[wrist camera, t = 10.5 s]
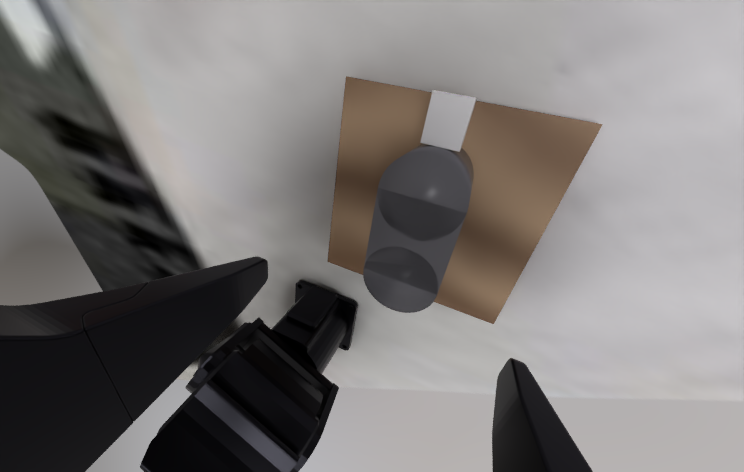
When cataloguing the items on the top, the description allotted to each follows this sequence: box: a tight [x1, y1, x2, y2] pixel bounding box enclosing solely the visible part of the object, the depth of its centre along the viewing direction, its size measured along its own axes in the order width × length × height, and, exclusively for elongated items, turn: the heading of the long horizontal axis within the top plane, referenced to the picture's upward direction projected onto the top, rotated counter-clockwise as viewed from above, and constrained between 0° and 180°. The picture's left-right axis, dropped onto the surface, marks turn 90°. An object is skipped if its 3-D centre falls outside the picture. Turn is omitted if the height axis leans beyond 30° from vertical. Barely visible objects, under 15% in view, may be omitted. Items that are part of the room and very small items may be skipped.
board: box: [328, 77, 603, 324], centre depth 19 cm, size 14×14×1 cm
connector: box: [363, 90, 477, 313], centre depth 16 cm, size 12×4×5 cm, turn 170°
